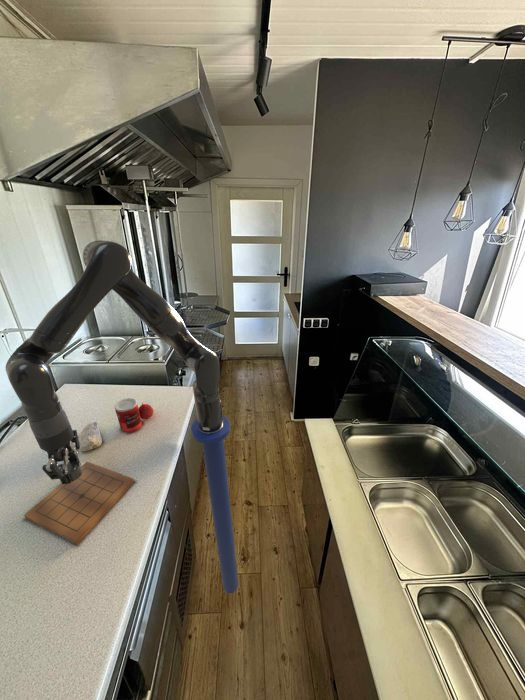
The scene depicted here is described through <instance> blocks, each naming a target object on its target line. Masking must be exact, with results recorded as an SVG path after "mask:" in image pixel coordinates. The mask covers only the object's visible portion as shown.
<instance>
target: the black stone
mask: <svg viewBox="0 0 525 700" xmlns="http://www.w3.org/2000/svg"><path fill="white" fill-rule="evenodd" d="M81 466H82V465H81V462H80V463H79V462H78V461H70V462H69V464H68V465H67V469H68V472H69V474H70V476H71V479H72V482H73V481H75V480H76V479H78V478H79V477H80V476H81V475H82V472H83V471H82V468H81ZM59 469H60V470H63V468H62V467H59Z"/></svg>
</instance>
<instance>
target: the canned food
mask: <svg viewBox="0 0 525 700" xmlns="http://www.w3.org/2000/svg"><path fill="white" fill-rule="evenodd" d="M114 411H115V414H116V417H117V421H118V424H119V427H120V430H121V431H122V432H123V433H127V434H129V433H134V432H136V431H138V430H140V429H141V427H142V425H143V421H142V420H143V419H142V418H141V416H140V412H139V405H138V401H137V399H135V398H130V397H129V398H122V399H121V400H118V401H117V402H115V404H114Z"/></svg>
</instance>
